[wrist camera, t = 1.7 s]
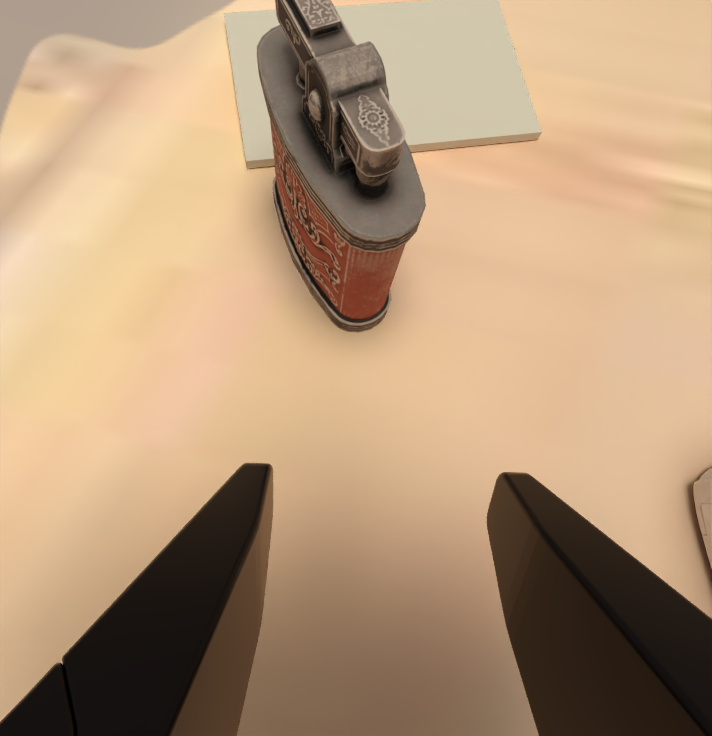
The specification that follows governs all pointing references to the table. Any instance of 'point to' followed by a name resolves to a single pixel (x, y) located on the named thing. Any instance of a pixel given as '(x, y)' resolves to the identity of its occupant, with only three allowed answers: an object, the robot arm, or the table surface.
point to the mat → (410, 73)
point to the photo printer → (704, 509)
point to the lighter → (337, 162)
